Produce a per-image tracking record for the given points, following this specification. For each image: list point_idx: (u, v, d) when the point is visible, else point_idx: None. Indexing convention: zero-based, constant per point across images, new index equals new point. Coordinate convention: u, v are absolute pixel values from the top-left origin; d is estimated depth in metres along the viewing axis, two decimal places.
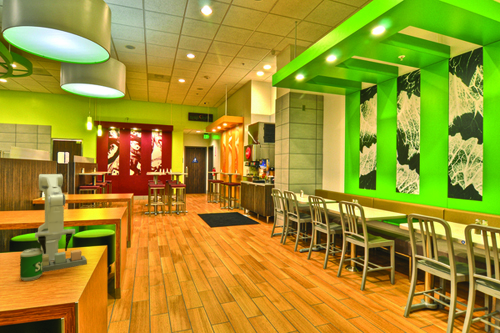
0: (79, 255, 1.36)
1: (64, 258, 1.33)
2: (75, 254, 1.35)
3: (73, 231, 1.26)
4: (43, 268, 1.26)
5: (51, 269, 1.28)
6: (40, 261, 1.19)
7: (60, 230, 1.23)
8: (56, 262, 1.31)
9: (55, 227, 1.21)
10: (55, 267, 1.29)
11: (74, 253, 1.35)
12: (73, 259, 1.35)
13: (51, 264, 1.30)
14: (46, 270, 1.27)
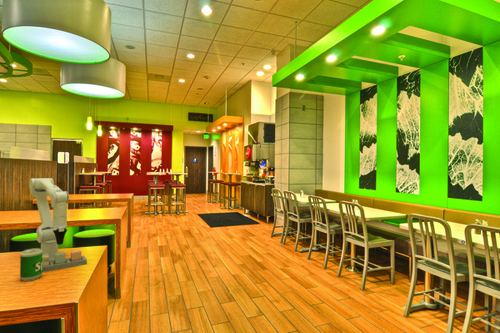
0: (79, 255, 1.36)
1: (64, 258, 1.33)
2: (75, 254, 1.35)
3: (58, 228, 1.30)
4: (43, 268, 1.26)
5: (51, 269, 1.28)
6: (40, 261, 1.19)
7: (54, 225, 1.33)
8: (56, 262, 1.31)
9: (52, 221, 1.34)
10: (55, 267, 1.29)
11: (74, 253, 1.35)
12: (73, 259, 1.35)
13: (51, 264, 1.30)
14: (46, 270, 1.27)
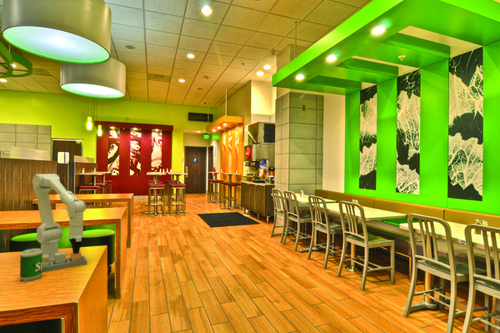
0: (79, 257, 1.36)
1: (64, 258, 1.33)
2: (75, 256, 1.35)
3: (76, 239, 1.32)
4: (43, 268, 1.26)
5: (51, 269, 1.28)
6: (40, 261, 1.19)
7: (71, 234, 1.35)
8: (56, 262, 1.31)
9: (69, 230, 1.35)
10: (55, 267, 1.29)
11: (74, 255, 1.35)
12: None
13: (51, 264, 1.30)
14: (46, 270, 1.27)
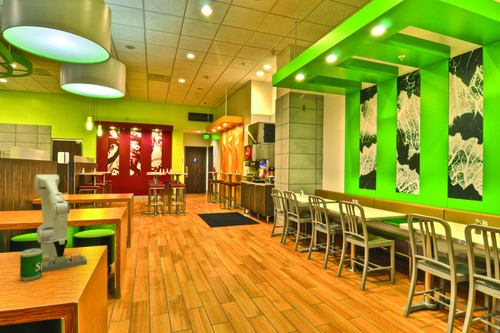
0: (79, 258, 1.36)
1: (64, 261, 1.33)
2: (75, 257, 1.35)
3: (59, 241, 1.27)
4: (43, 268, 1.26)
5: (51, 269, 1.28)
6: (40, 261, 1.19)
7: (55, 237, 1.30)
8: None
9: (53, 233, 1.31)
10: (55, 267, 1.29)
11: (74, 256, 1.35)
12: None
13: (51, 264, 1.30)
14: (46, 270, 1.27)
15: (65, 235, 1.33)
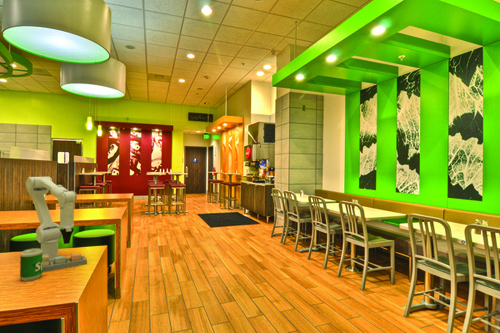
0: (79, 258, 1.36)
1: (64, 262, 1.33)
2: (75, 257, 1.35)
3: (66, 228, 1.32)
4: (43, 268, 1.26)
5: (51, 269, 1.28)
6: (40, 261, 1.19)
7: (62, 224, 1.35)
8: None
9: (60, 221, 1.35)
10: (55, 267, 1.29)
11: (74, 256, 1.35)
12: None
13: (51, 264, 1.30)
14: (46, 270, 1.27)
15: (71, 223, 1.37)
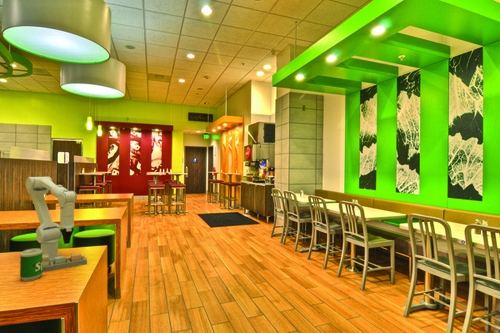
0: (79, 258, 1.36)
1: (64, 262, 1.33)
2: (75, 257, 1.35)
3: (66, 228, 1.32)
4: (43, 268, 1.26)
5: (51, 269, 1.28)
6: (40, 261, 1.19)
7: (62, 224, 1.35)
8: None
9: (60, 221, 1.36)
10: (55, 267, 1.29)
11: (74, 256, 1.35)
12: None
13: (51, 264, 1.30)
14: (46, 270, 1.27)
15: (72, 223, 1.37)
